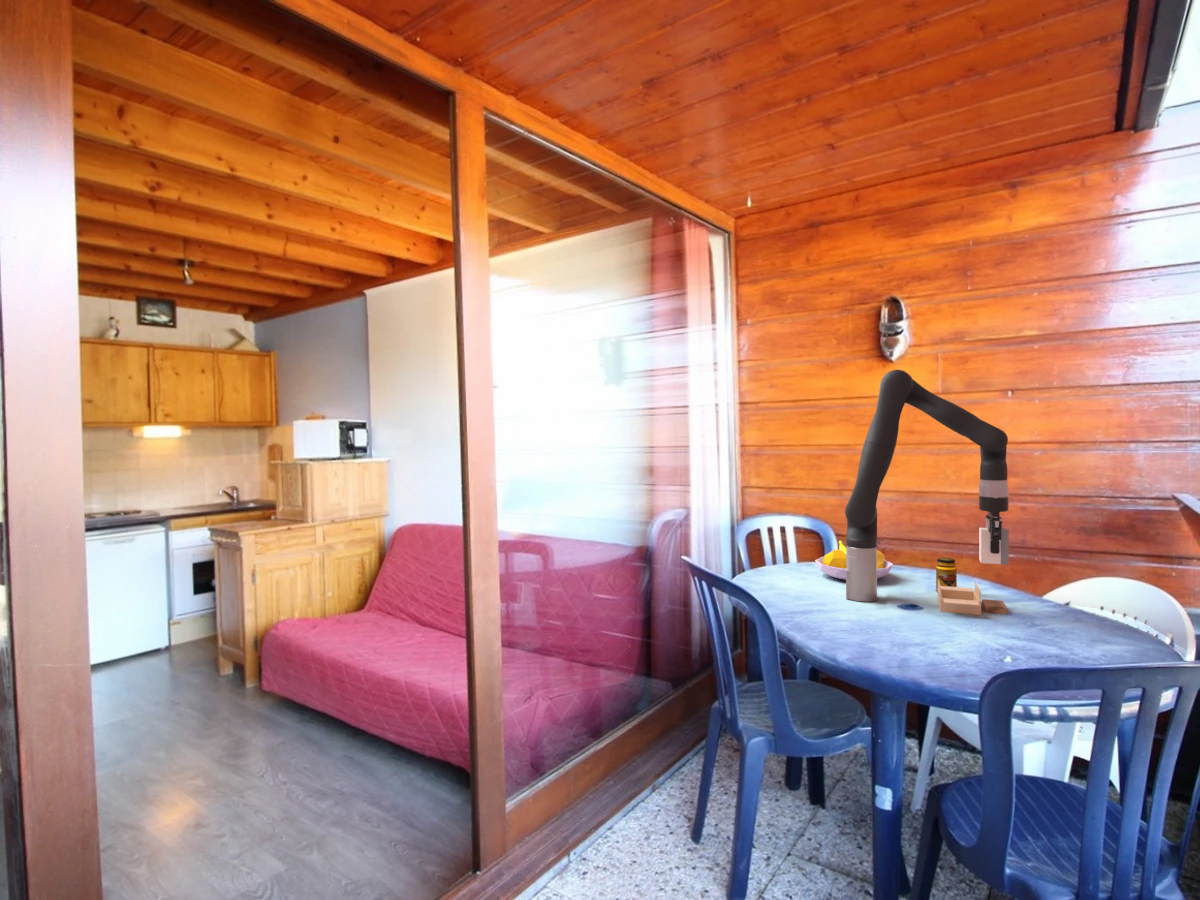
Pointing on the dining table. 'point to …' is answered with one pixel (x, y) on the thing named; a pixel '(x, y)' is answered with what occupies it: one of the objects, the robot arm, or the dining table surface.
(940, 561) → the condiment
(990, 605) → the stand
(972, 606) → the wooden tray
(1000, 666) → the dining table surface
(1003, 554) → the box
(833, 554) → the fruit bowl
